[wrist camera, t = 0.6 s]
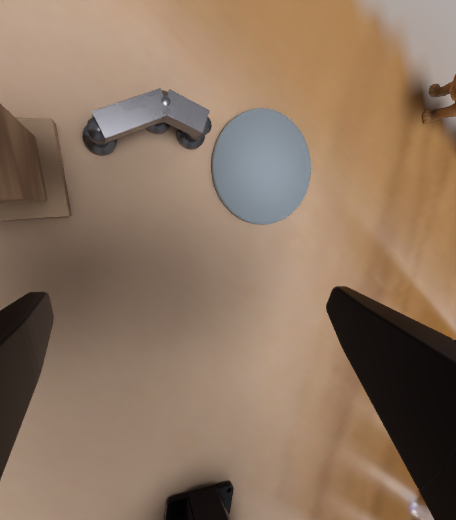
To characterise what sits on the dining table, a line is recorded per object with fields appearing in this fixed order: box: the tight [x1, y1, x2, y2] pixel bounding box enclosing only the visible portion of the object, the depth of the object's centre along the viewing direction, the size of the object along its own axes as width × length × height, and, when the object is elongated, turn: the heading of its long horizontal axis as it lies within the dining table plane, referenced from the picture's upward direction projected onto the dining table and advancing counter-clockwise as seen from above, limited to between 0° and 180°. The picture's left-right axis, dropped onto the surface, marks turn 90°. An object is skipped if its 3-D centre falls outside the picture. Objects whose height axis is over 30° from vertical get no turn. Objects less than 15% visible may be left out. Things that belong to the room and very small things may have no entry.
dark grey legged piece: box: [83, 88, 212, 155], centre depth 18 cm, size 4×8×4 cm, turn 82°
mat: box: [211, 108, 311, 224], centre depth 23 cm, size 9×9×1 cm
